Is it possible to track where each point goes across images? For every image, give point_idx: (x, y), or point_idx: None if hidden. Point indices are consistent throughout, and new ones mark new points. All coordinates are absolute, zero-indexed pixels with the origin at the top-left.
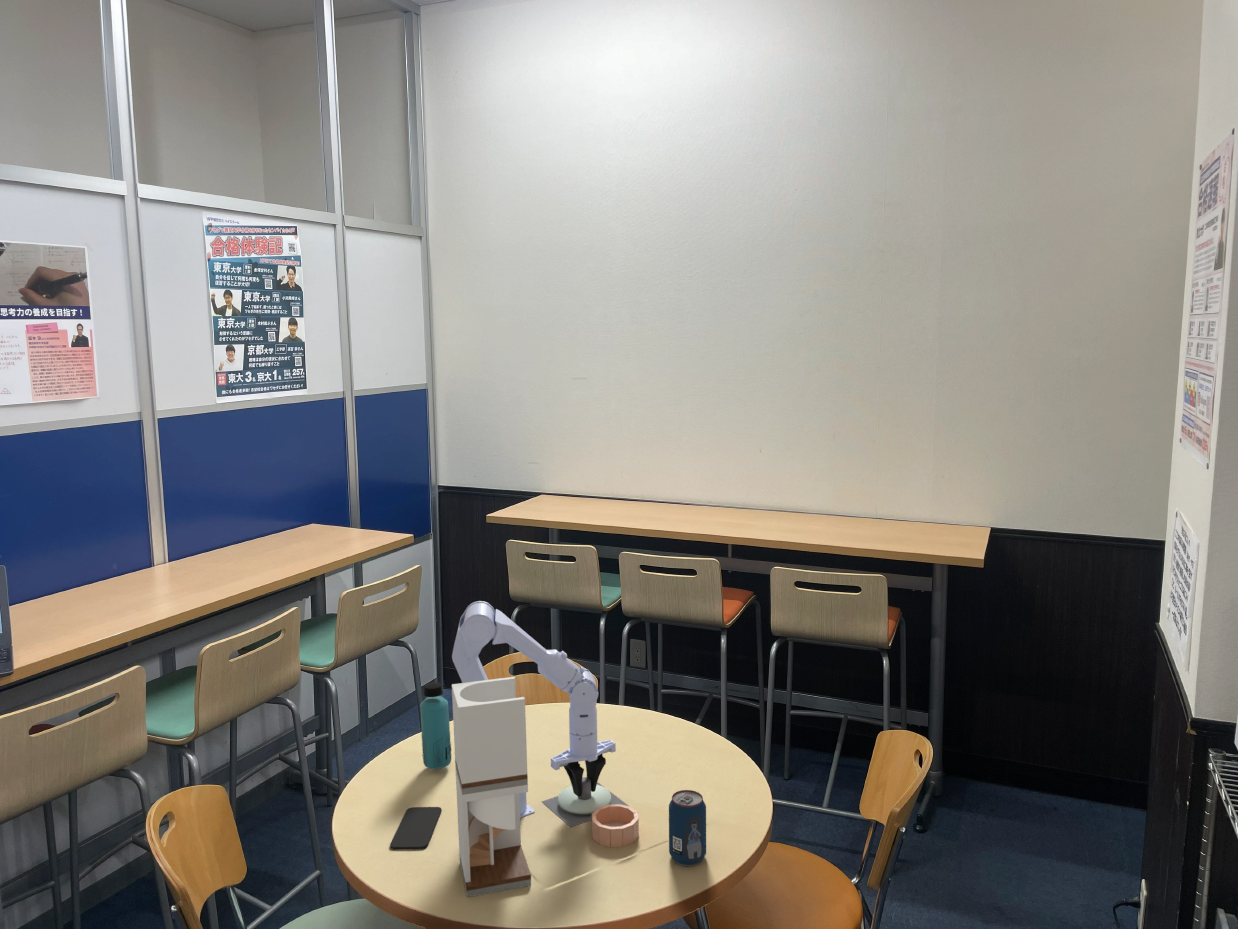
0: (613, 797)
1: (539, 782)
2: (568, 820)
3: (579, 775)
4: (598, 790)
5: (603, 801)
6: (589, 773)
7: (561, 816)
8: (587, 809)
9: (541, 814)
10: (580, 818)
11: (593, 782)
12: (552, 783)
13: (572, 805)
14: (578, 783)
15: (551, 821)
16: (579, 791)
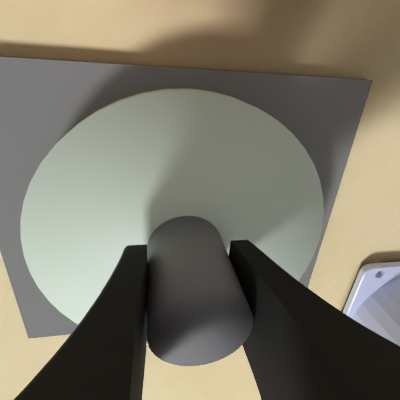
0: (8, 202)
1: (217, 396)
2: (333, 142)
3: (391, 374)
4: (81, 264)
5: (116, 146)
6: (138, 386)
7: (327, 191)
8: (258, 123)
9: (347, 250)
10: (282, 122)
11: (142, 290)
12: (187, 382)
13: (289, 208)
14: (316, 300)
15: (362, 190)
16: (263, 257)
